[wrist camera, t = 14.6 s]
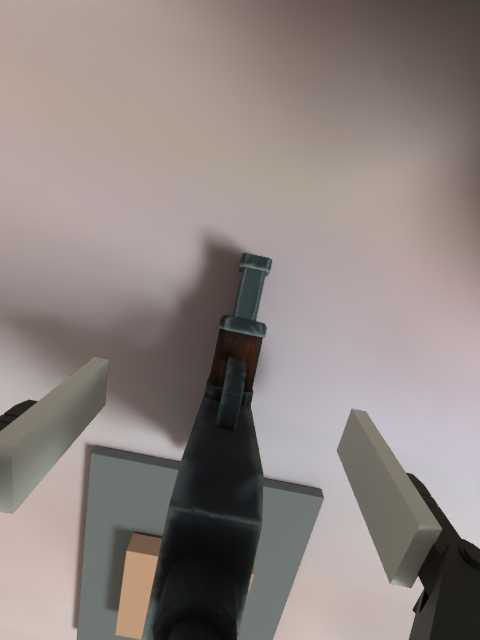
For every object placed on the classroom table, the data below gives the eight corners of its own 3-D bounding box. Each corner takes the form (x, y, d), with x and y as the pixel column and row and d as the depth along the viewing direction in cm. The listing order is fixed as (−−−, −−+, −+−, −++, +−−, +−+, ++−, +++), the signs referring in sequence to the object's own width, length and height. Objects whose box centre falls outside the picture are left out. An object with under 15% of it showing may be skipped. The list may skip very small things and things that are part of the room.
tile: (126, 550, 23) (115, 634, 26) (254, 574, 23) (229, 654, 26) (134, 530, 24) (123, 612, 27) (253, 552, 25) (230, 631, 27)
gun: (402, 130, 5) (209, 1026, 5) (270, 273, 21) (228, 475, 22) (234, 92, 5) (48, 1003, 5) (233, 265, 21) (191, 468, 22)
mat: (96, 445, 23) (91, 453, 22) (321, 489, 24) (323, 497, 23) (81, 630, 29) (76, 640, 29) (260, 661, 30) (260, 673, 29)
